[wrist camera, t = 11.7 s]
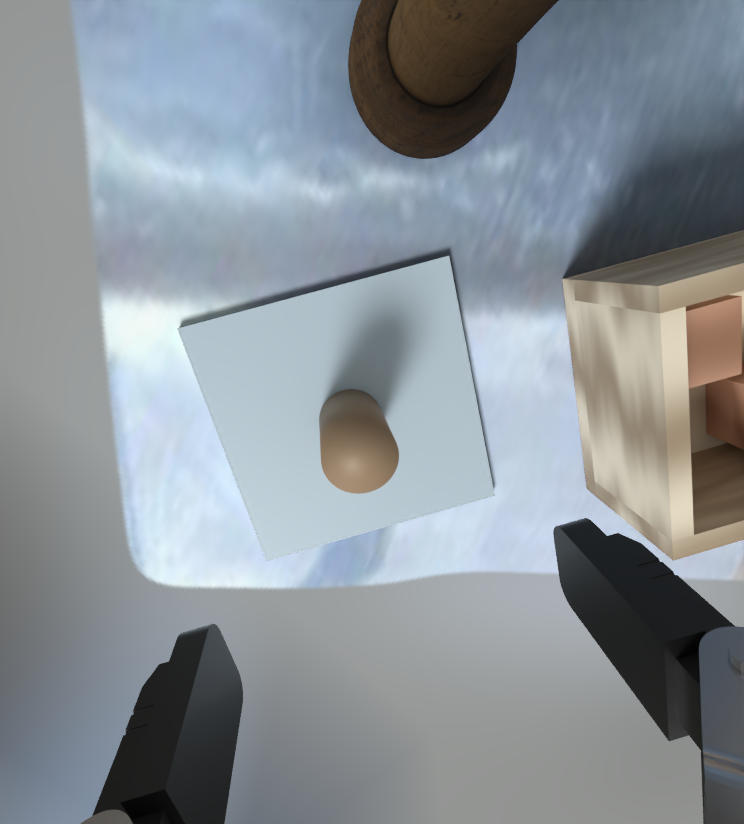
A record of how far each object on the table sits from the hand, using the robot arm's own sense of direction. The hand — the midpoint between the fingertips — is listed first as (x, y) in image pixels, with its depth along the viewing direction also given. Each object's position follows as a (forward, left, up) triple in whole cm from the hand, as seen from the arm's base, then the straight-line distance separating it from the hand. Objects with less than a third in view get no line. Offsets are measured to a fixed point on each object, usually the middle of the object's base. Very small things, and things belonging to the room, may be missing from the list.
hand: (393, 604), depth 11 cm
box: (+2, +18, -14) cm, 23 cm away
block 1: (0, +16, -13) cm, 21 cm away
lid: (0, 0, -15) cm, 15 cm away
